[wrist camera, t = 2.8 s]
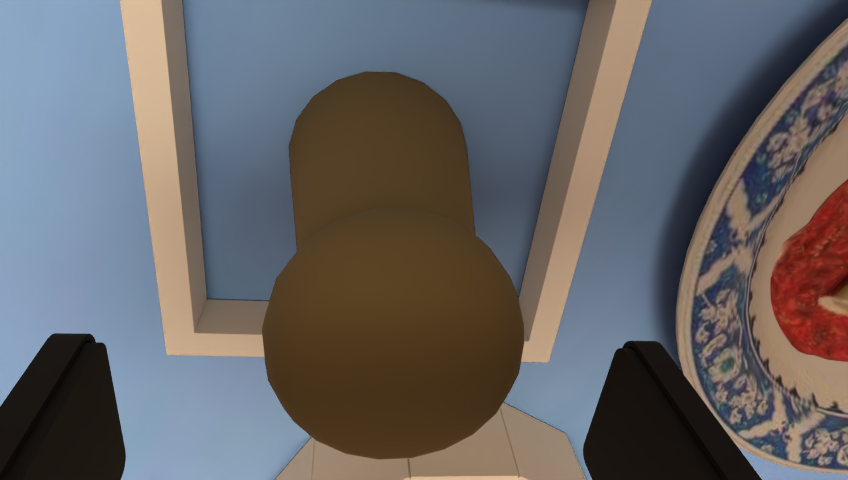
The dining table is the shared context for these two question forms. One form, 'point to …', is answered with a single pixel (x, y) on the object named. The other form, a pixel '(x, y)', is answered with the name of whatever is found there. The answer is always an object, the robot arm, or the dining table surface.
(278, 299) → the brown rounded piece
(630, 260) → the dining table surface
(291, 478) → the bowl
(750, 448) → the ceramic plate
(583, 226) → the beige square frame
